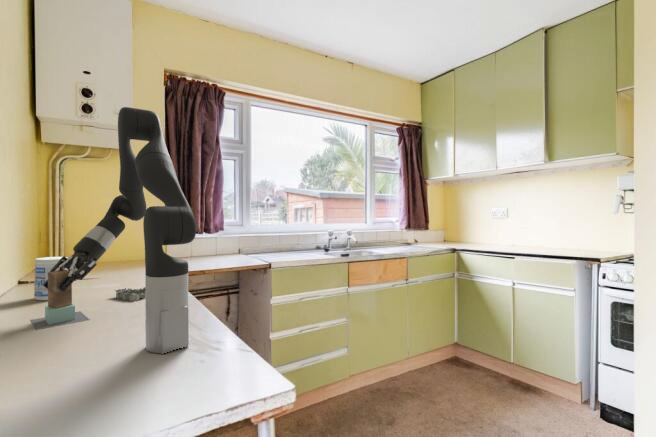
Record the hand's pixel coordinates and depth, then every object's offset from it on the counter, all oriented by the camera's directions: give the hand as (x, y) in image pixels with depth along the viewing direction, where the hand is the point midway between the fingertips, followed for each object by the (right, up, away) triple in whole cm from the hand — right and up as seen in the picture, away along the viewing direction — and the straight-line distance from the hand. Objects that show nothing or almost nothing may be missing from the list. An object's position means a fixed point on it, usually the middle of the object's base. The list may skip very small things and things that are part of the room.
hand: (53, 288), depth 97 cm
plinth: (+1, -9, +2) cm, 10 cm away
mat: (+1, -10, +2) cm, 10 cm away
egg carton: (+6, -10, +28) cm, 30 cm away
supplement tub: (-23, -9, +28) cm, 37 cm away
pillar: (+1, -5, +2) cm, 6 cm away
